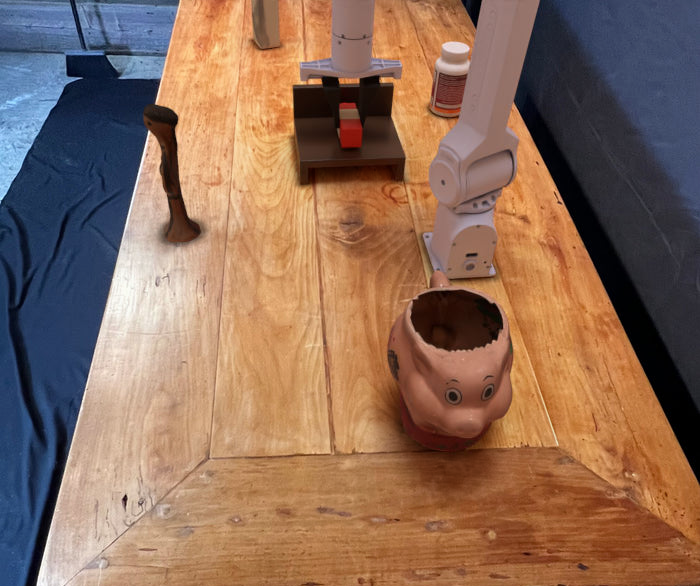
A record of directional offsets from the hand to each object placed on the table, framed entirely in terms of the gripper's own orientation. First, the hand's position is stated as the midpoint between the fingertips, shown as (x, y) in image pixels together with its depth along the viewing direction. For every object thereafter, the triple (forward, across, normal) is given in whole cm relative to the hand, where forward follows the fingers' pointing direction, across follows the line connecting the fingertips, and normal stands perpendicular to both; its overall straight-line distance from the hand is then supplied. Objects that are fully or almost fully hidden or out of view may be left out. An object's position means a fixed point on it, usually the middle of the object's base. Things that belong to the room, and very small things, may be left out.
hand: (348, 124), depth 96 cm
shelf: (+6, 0, -1) cm, 6 cm away
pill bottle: (+6, -20, -16) cm, 26 cm away
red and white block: (+2, 0, 0) cm, 2 cm away
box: (+6, +11, -46) cm, 48 cm away
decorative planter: (+6, -4, +49) cm, 50 cm away
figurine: (+6, +25, +16) cm, 30 cm away
